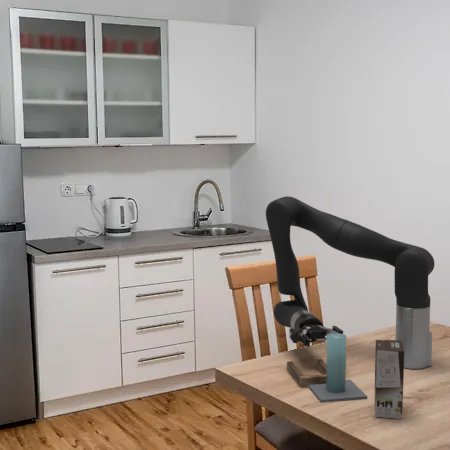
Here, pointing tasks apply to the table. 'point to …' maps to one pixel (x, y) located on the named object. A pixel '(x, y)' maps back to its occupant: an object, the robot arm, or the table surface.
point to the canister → (336, 362)
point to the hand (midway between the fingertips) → (324, 342)
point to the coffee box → (389, 378)
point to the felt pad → (349, 394)
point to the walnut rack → (308, 380)
